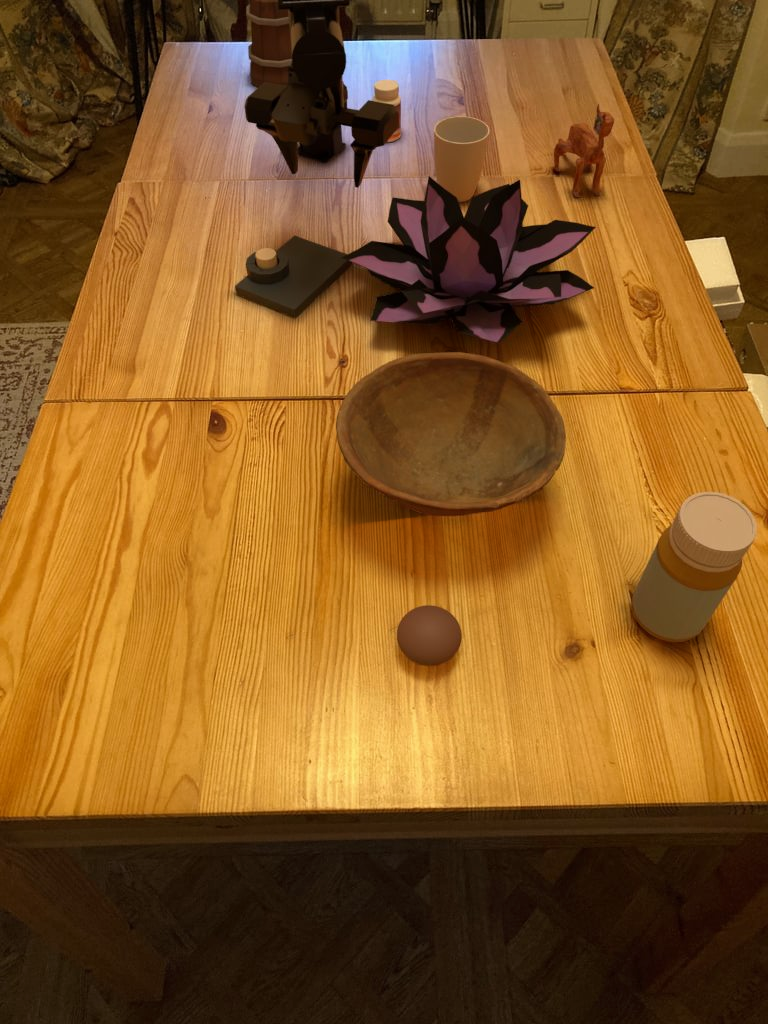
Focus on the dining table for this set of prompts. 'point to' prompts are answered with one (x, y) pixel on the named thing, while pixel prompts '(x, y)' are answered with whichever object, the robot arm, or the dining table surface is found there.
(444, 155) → the cup
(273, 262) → the button
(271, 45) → the mug
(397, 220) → the decorative flower
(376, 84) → the pill bottle
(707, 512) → the bottle
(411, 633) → the brown flattened ball
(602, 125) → the orange animal figurine
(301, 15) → the robot arm
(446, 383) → the bowl
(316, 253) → the dark flat slab piece
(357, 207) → the dining table surface
